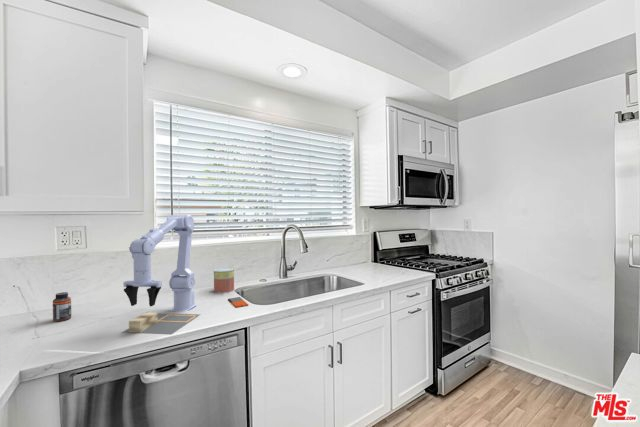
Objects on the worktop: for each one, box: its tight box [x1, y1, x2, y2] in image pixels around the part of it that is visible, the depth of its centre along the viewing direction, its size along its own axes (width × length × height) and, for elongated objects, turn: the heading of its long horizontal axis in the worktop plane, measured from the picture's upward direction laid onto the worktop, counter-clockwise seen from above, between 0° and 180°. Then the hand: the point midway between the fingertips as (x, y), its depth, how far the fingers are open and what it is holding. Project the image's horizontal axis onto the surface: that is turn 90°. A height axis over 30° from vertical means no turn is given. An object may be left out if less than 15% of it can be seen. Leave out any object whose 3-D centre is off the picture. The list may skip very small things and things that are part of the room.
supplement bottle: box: [52, 291, 72, 323], centre depth 126 cm, size 6×6×11 cm
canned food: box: [213, 267, 235, 294], centre depth 171 cm, size 11×11×12 cm
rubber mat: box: [121, 312, 201, 335], centre depth 120 cm, size 21×20×1 cm
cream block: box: [128, 311, 159, 332], centre depth 116 cm, size 10×4×4 cm, turn 174°
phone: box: [227, 296, 249, 309], centre depth 148 cm, size 6×1×15 cm
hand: (143, 305), depth 115 cm, fingers open, 7 cm apart
